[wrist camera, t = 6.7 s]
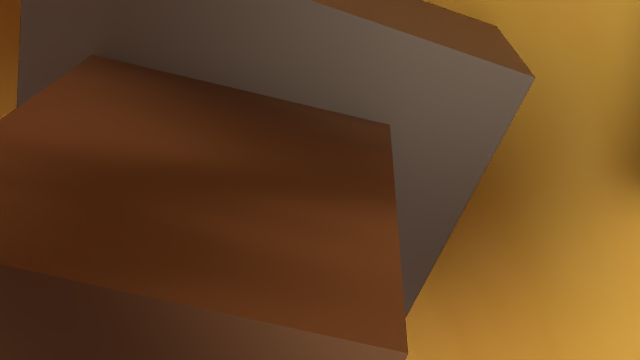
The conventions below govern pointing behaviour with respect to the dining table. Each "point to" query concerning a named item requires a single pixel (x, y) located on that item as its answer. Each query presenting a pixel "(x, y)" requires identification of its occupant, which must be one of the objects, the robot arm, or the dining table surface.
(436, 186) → the charcoal block
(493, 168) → the dining table surface
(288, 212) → the walnut cube
